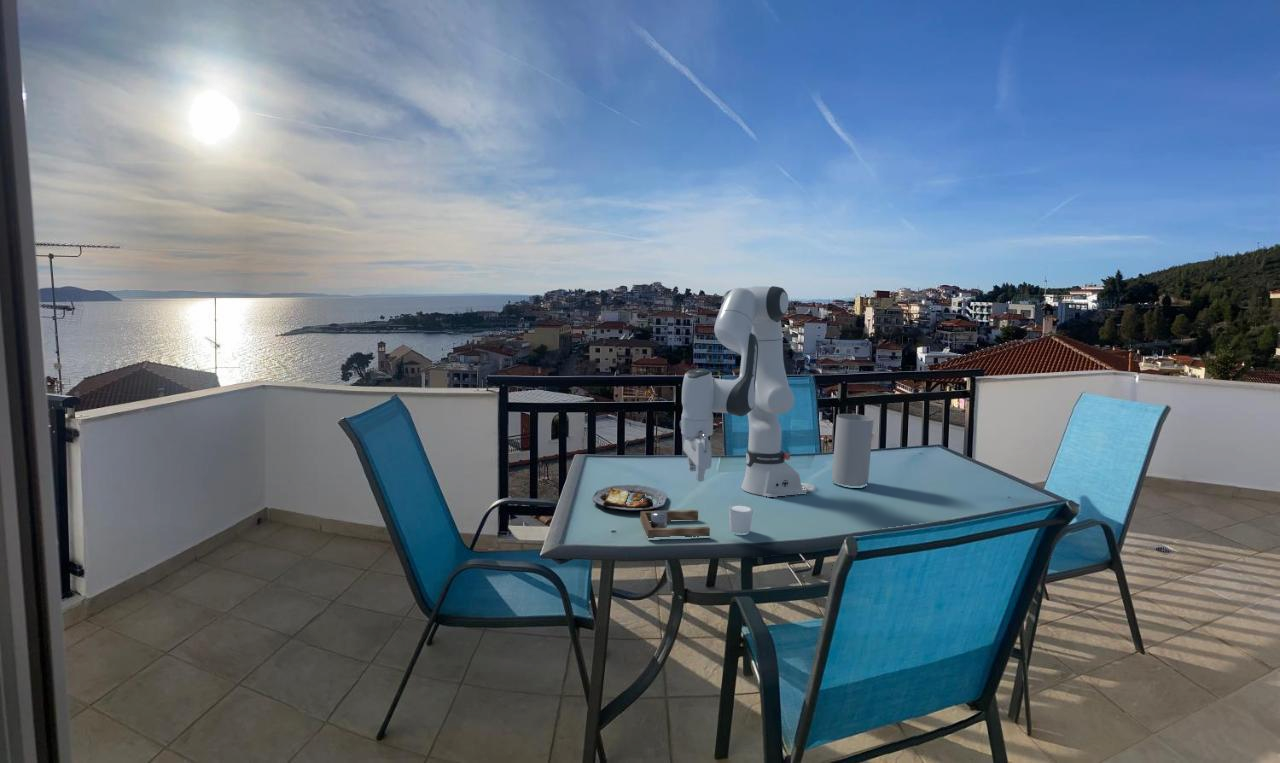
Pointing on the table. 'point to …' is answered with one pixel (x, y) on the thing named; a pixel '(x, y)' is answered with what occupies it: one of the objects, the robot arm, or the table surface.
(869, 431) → the cylinder vase
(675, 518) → the wooden u-shaped frame
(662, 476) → the table surface
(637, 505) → the food plate
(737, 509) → the shot glass
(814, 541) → the table surface
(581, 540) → the table surface
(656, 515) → the grey rounded piece
